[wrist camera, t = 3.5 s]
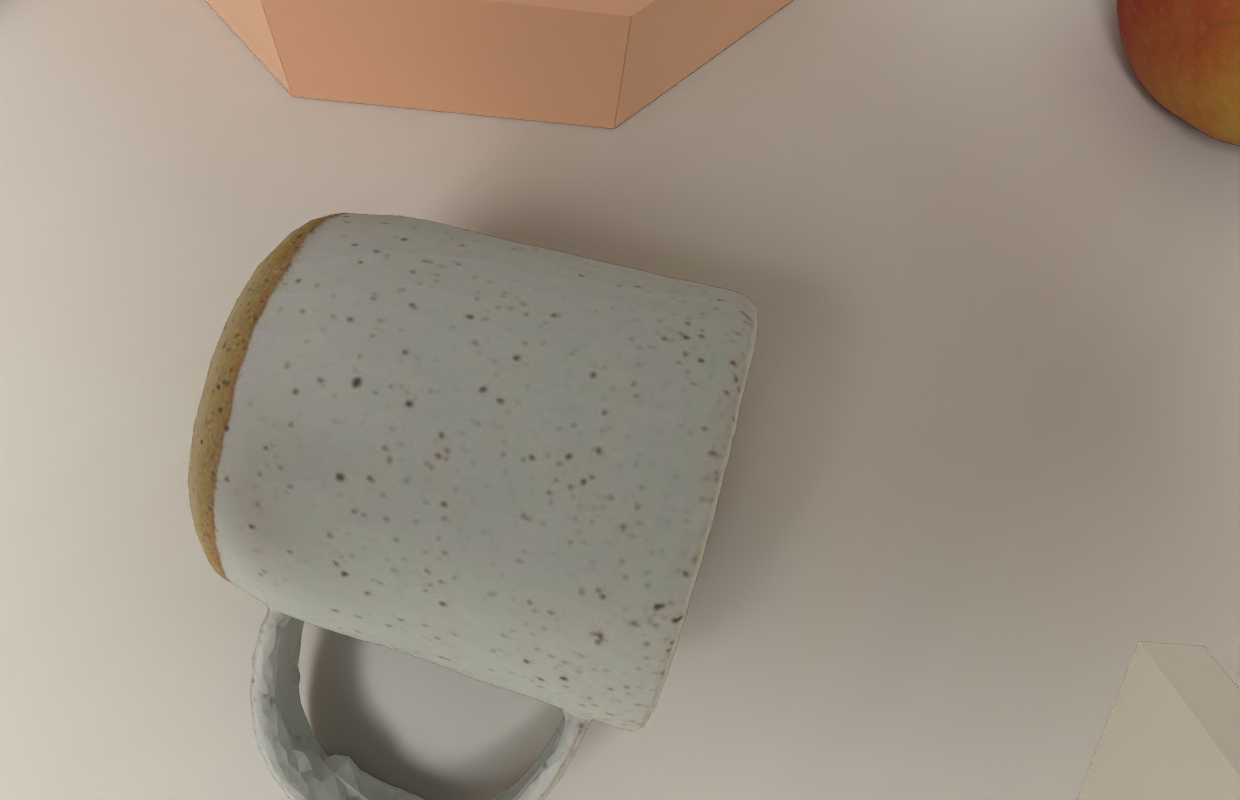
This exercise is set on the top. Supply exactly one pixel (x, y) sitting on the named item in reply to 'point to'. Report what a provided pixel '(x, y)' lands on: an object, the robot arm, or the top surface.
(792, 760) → the top surface
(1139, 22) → the apple
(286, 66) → the terracotta bowl
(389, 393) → the ceramic mug
